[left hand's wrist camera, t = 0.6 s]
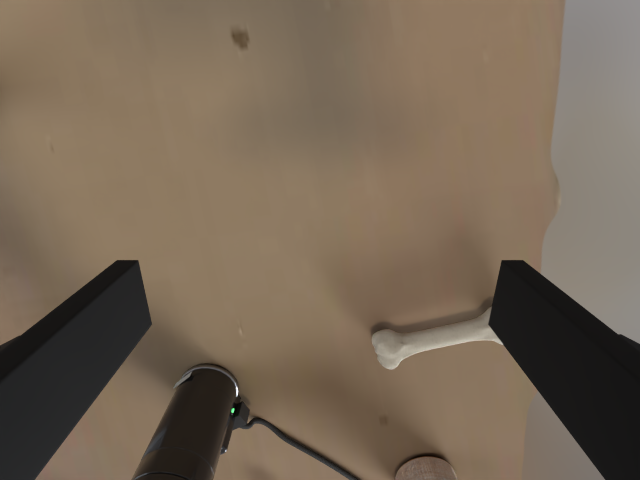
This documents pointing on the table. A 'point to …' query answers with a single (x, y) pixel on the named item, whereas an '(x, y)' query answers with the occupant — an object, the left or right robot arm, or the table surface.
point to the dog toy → (429, 339)
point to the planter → (426, 469)
